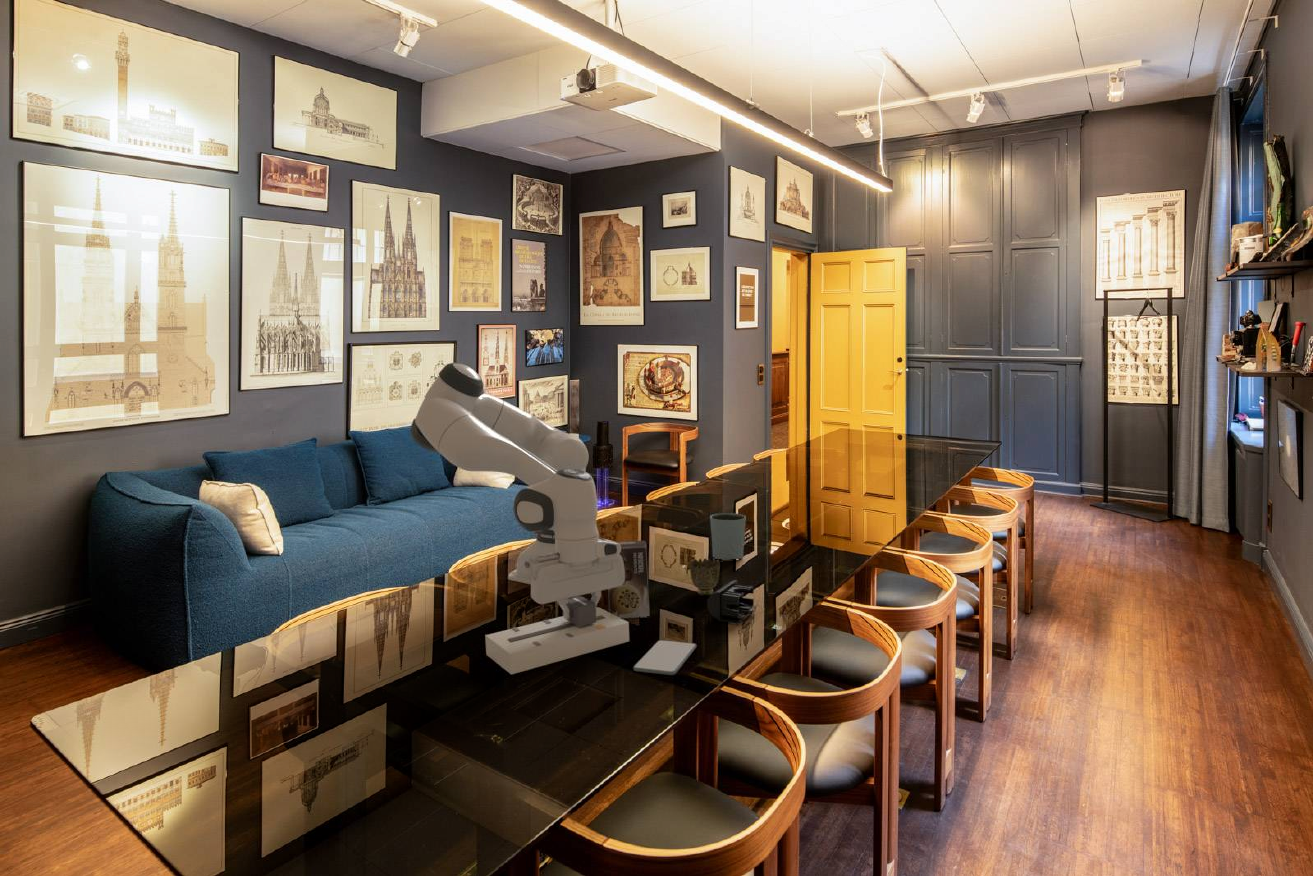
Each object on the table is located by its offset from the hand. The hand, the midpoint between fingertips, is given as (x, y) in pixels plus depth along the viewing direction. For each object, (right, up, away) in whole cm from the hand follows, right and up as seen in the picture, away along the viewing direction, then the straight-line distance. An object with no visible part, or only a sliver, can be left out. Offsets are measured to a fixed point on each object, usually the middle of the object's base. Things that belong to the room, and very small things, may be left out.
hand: (580, 615), depth 156 cm
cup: (+27, -2, +29) cm, 40 cm away
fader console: (-4, -6, -2) cm, 8 cm away
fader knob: (0, -1, 0) cm, 1 cm away
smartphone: (+17, -7, -9) cm, 21 cm away
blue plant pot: (+36, +2, +61) cm, 71 cm away
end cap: (+32, -4, +13) cm, 35 cm away
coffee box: (+9, -4, +17) cm, 19 cm away
